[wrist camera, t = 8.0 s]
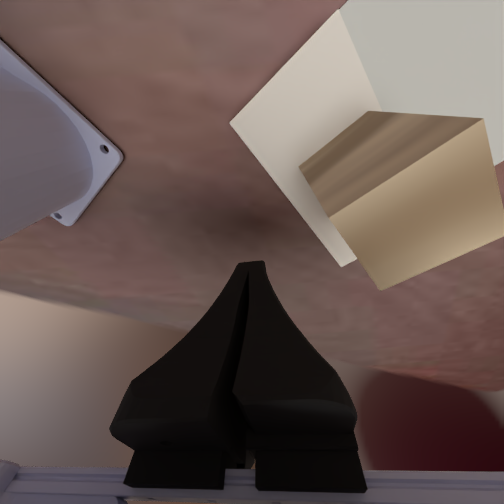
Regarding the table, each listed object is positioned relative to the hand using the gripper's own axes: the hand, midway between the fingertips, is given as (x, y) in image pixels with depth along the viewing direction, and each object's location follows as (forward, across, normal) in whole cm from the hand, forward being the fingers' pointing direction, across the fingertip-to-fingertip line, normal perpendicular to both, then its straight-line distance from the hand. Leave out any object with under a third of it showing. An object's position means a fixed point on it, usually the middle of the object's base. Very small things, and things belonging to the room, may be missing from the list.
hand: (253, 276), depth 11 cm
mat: (+6, -11, -6) cm, 14 cm away
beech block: (+4, -6, -4) cm, 8 cm away
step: (+6, -5, -3) cm, 9 cm away
